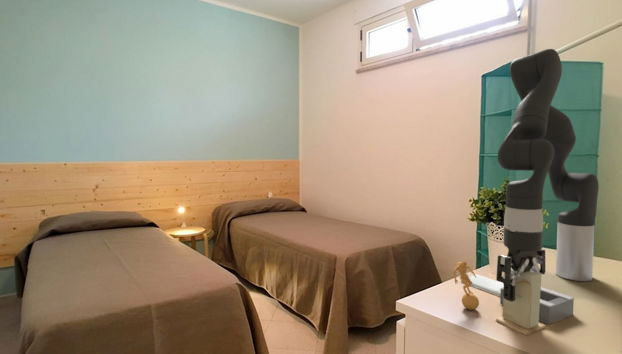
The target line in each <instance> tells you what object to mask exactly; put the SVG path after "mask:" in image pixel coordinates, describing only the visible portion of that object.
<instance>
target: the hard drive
mask: <svg viewBox="0 0 622 354" xmlns="http://www.w3.org/2000/svg"><path fill="white" fill-rule="evenodd" d="M475 276H476V277H475ZM475 276H474V274H472V275H470V276H468V277H469V279H470V280H471V281H472V285H471V286H470V287H473V288H475V289H478V290H481V291H483V292H486V293H490V294H492V295H494V296H497V297H500V294H501V288H502V287H504V284H503V283H502V282H499V281H497V280H495V279H492V278H489V277H486V276H482V275H479V274H475ZM460 283H462V284H464V283H463V282H462V281H461V280H460ZM467 283H468V282H467ZM468 284H469V283H468Z"/></svg>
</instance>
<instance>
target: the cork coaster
mask: <svg viewBox="0 0 622 354" xmlns="http://www.w3.org/2000/svg"><path fill="white" fill-rule="evenodd" d="M495 321H496V322H497V323H499V324H502V325H504V326H506V327H509V329H512V330H514V331H516V332H518V333H520V334H523V335H525V336H527V335H530V334H532V333H535V332H537V331H540V330H542V329H544V328H545V329H546V325H545V324H543V323H542V322H540V321H539V322H538V325H536V326H534V327H531V328H529V329H527V328H524V327H522V326H520V325H518V324H516V323H514V322H511V321H509V320H507V319H505V318H503V317H502V316H500V317H497V318H496V319H495Z"/></svg>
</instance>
